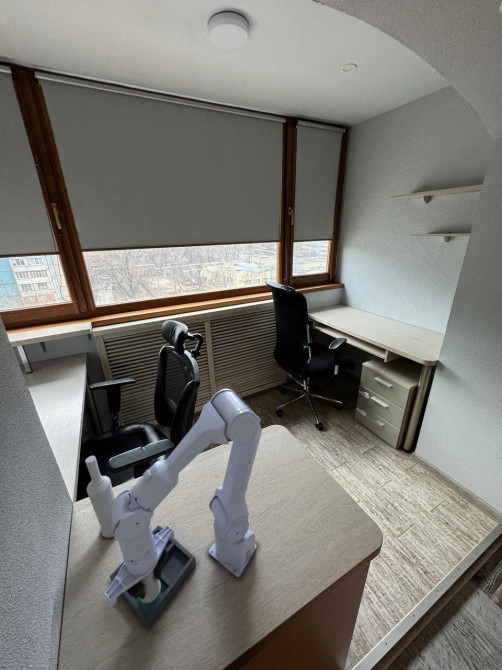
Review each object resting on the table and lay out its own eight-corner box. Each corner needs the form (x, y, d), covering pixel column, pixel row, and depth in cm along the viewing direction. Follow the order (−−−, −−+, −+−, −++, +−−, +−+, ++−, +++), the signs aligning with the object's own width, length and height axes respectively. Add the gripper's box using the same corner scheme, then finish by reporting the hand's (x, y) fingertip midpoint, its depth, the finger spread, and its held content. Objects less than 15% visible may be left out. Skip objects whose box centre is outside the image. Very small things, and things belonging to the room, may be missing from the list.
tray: (196, 563, 65) (195, 557, 64) (148, 628, 54) (146, 621, 53) (159, 531, 71) (158, 524, 70) (111, 582, 61) (109, 576, 60)
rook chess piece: (164, 579, 60) (159, 557, 57) (155, 605, 56) (150, 583, 53) (145, 577, 60) (139, 555, 57) (135, 603, 56) (128, 581, 53)
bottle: (114, 540, 69) (91, 470, 60) (97, 536, 70) (72, 466, 61) (126, 520, 74) (107, 452, 65) (110, 517, 75) (89, 449, 66)
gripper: (156, 503, 60) (164, 542, 65) (89, 568, 48) (105, 608, 54) (177, 521, 56) (184, 561, 61) (111, 595, 45) (126, 636, 50)
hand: (149, 584), depth 57 cm, fingers closed on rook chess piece, 3 cm apart
